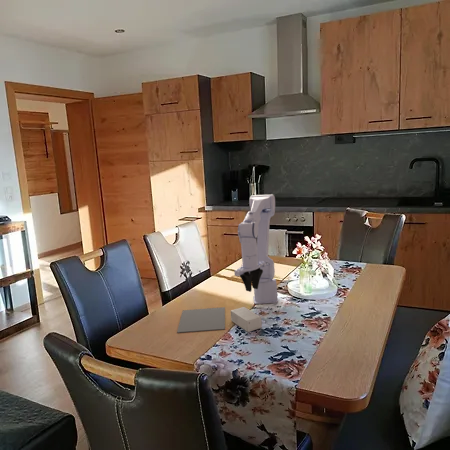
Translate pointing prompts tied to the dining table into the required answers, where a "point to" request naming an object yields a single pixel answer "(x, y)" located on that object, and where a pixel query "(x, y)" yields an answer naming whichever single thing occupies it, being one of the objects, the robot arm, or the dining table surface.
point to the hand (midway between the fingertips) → (252, 289)
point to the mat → (202, 320)
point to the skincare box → (246, 319)
